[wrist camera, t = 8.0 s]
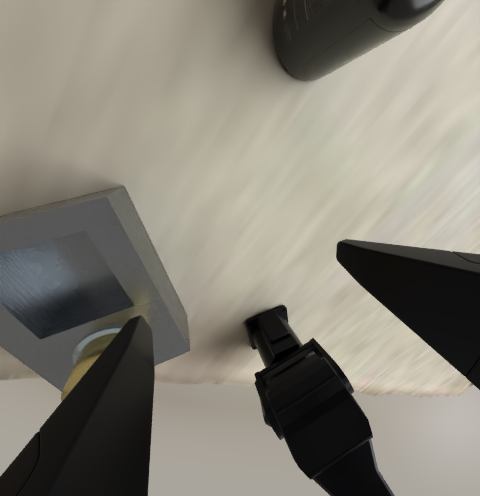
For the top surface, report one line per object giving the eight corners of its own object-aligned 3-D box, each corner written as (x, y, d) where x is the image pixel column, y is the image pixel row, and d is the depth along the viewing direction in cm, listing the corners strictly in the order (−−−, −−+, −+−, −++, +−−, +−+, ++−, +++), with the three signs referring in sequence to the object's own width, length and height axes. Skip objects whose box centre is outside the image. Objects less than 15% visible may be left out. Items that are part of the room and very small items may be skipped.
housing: (187, 315, 24) (190, 352, 19) (92, 351, 22) (72, 402, 17) (124, 185, 16) (105, 197, 11) (-32, 223, 14) (-129, 255, 9)
